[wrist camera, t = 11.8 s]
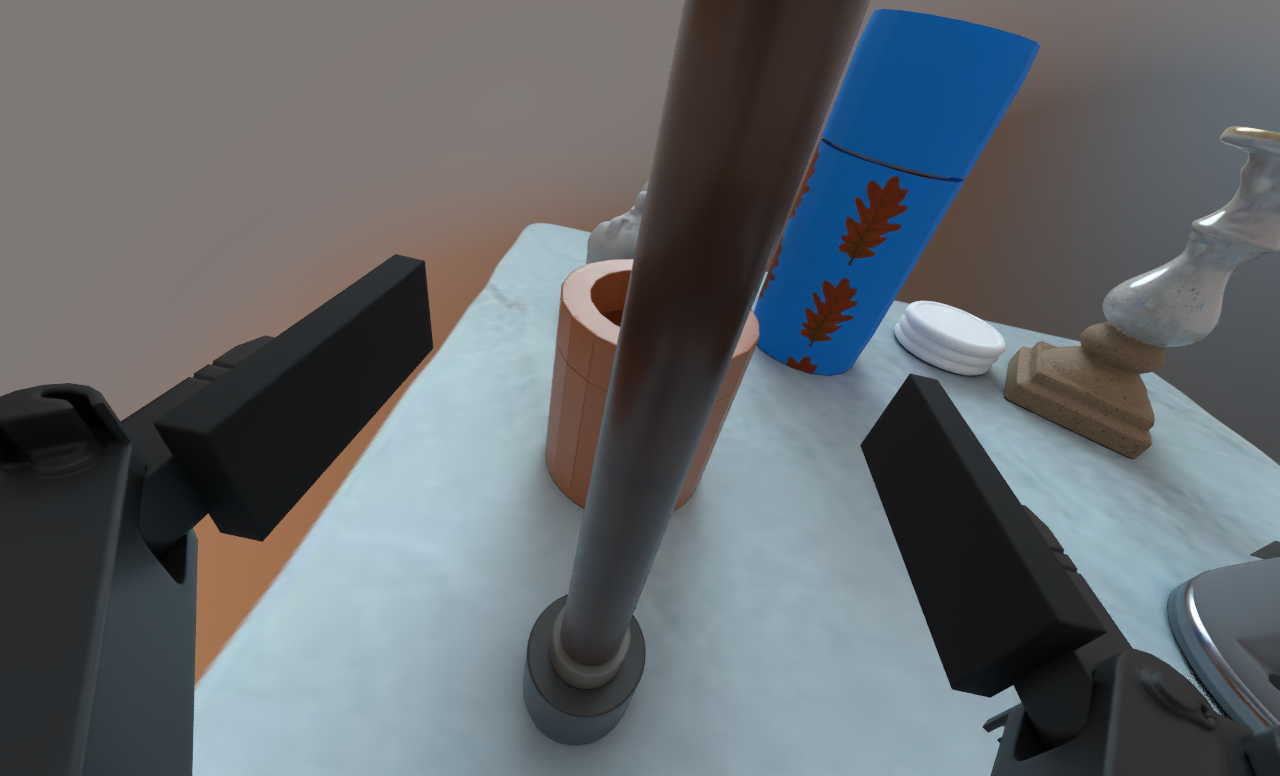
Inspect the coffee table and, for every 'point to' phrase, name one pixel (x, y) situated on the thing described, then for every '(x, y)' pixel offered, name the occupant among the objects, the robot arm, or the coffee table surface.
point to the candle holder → (1153, 315)
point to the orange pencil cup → (587, 369)
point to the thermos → (884, 179)
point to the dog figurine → (617, 234)
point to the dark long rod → (684, 320)
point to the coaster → (949, 338)
